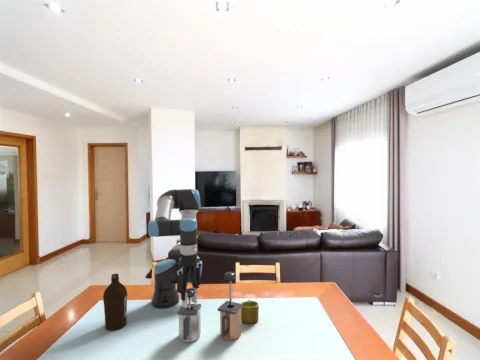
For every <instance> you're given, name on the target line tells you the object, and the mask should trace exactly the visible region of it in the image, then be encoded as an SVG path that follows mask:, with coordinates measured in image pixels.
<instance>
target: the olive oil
mask: <svg viewBox="0 0 480 360" xmlns="http://www.w3.org/2000/svg"><path fill="white" fill-rule="evenodd" d="M110 280H111V282H110V284H109V285H108V286H107V287H106V288H105V290H104V292H103V296H102V297H103V298H102V300H103V311H104V312H103V313H104V325H105V326H104V327H105V329H106V330H107V331H119V330H121V329H123V328H125V326H127V318H128V317H127V312H128V311H127V310H128V309H127V306H128V289H127V288H126V286H125V285H124V284H123V283H121V282H120V277H119V273H112V274H111V277H110Z"/></svg>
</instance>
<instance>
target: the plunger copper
mask: <svg viewBox="0 0 480 360" xmlns="http://www.w3.org/2000/svg"><path fill="white" fill-rule="evenodd" d="M236 277H237V274H236V272H235V271H226V272H224V279H225V280H227V281H228V283H229V285H228V286H229V287H228V289H229V290H228V293H229V294H228V297H229V299H228V301H229V308H232V302H233V300H232V298H233V297H232V296H233V295H232V292H233V291H232V286H233V285H232V284H233V283H232V281H235V280H236Z"/></svg>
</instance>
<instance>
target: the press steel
mask: <svg viewBox="0 0 480 360" xmlns="http://www.w3.org/2000/svg"><path fill="white" fill-rule="evenodd" d="M201 308H202V303H191V310H188V308H185V307H182V305H181V306H180V307H179V309H178V310H177V312H176V313H177V314H176V315H177V316H178V337H179V340H180V341H181V342H183V343H186V344H187V343H189V344H190V343H194V342H197V341H198V340H199V339H200V338H201V334H202V333H201V331H202V329H201V321H202V320H201Z"/></svg>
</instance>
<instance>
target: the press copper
mask: <svg viewBox="0 0 480 360" xmlns="http://www.w3.org/2000/svg"><path fill="white" fill-rule="evenodd" d="M242 307H243V304H241V302H240V303H239V302H234V301H232V308H229V300H225V301H224V302H223V303H222V304H221V305H220V306H218V308H217V311H218V312H219V324H220V326H219V331H220V337H221V338H222V339H223V340H225V341H234V340H237V339H240V337H241V336H242V334H241V333H242V320H241V308H242Z"/></svg>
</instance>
